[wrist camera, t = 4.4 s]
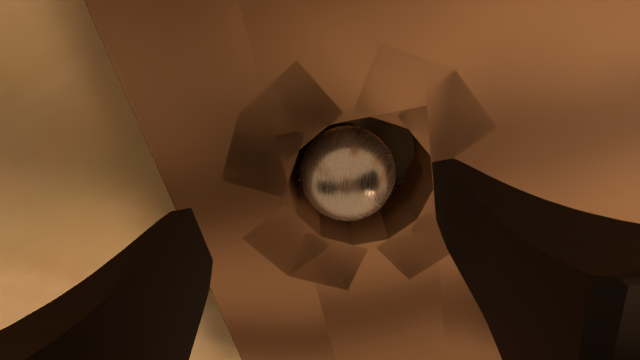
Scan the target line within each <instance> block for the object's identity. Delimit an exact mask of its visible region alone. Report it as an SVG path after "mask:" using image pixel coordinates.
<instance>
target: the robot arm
mask: <svg viewBox="0 0 640 360" xmlns="http://www.w3.org/2000/svg"><path fill="white" fill-rule="evenodd" d="M432 172H433V185H434V198H435V211H436V221H437V224H438V227H439V229H440V232H441V235H442V238H443V240H444V243H445V245H446V248H447V250H448V252H449V254H450V255H451V257H452V259H453V261H454V263H455V265H456V266H457V268H458V270H459V272H460V274H461V276H462V277H463V279H464V281H465V283H466V285H467V286H468V288H469V290H470V292H471V294H472V295H473V297H474V299H475V301H476V303H477V304H478V306H479V308H480V310H481V312H482V314H483V316H484V318H485V320H486V322H487V324H488V327H489V329H490V332H491V334H492V336H493V339H494V341H495V344H496V346H497V348H498V351H499V353H500V356H501V358H502V360H640V224H639V223H633V222H628V221H623V220H618V219H614V218H609V217H605V216H601V215H596V214H592V213H588V212H584V211H581V210H577V209H573V208H570V207H567V206H564V205H561V204H557V203H554V202H551V201H548V200H545V199H542V198H540V197H537V196H534V195H532V194H529V193H527V192H524V191H522V190H520V189H517V188H515V187H512V186H510V185H508V184H506V183H504V182H501V181H499V180H497V179H495V178H493V177H491V176H489V175H487V174H485V173H483V172H481V171H479V170H477V169H475V168H473V167H471V166H469V165H467V164H465V163H463V162H461V161H459V160H457V159H454V158H451V159H446V160H441V161H435V162H432ZM212 266H213V259H212V256H211V254H210V252H209V249H208V247H207V244H206V242H205V240H204V237H203V235H202V232H201V230H200V228H199V225H198V223H197V220H196V218H195V216H194V213H193V211H192V208H187V209H181V210H176V211H172V212H170V213H168V214H167V215H165V216H164V217H163V218H161V219H160V220H159V221H157V222H156V223H155V224H154V225H152V226H151V227H150V228H149V229H148V230H146V231H145V232H144V233H143V234H142V235H140V236H139V237H138V238H137V239H136V240H134V241H133V242H132V243H131V244H130V245H128V246H127V247H126V248H125V249H124V250H122V251H121V252H120V253H119V254H117V255H116V256H115V257H113V258H112V259H111V260H110V261H108V262H107V263H106V264H104V265H103V266H102V267H101V268H99V269H98V270H97V271H95V272H94V273H93V274H92V275H90V276H89V277H87V278H86V279H85V280H83V281H82V282H80V283H79V284H77V285H76V286H74V287H73V288H71V289H70V290H68V291H67V292H65V293H64V294H62V295H61V296H59V297H58V298H56V299H55V300H53V301H51V302H50V303H48V304H46V305H45V306H43V307H41V308H39V309H38V310H36V311H34V312H33V313H31V314H29V315H27V316H26V317H24V318H22V319H21V320H19V321H17V322H15V323H14V324H12V325H10V326H8V327H6V328H4V329H2V330H0V360H189V357H190V354H191V350H192V347H193V344H194V340H195V337H196V334H197V330H198V327H199V324H200V320H201V317H202V314H203V310H204V307H205V303H206V300H207V296H208V292H209V288H210V281H211V275H212Z"/></svg>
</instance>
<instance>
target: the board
mask: <svg viewBox="0 0 640 360" xmlns="http://www.w3.org/2000/svg"><path fill="white" fill-rule="evenodd" d="M84 1H85V3H86V5H87V8H88V10H89V12H90V15H91V17H92V19H93V21H94V24H95V26H96V28H97V31H98V33H99V35H100V37H101V40H102V42H103V44H104V47H105V49H106V51H107V53H108V56H109V58H110V60H111V62H112V65H113V67H114V69H115V72H116V74H117V76H118V78H119V81H120V83H121V85H122V88H123V90H124V92H125V94H126V97H127V99H128V101H129V104H130V106H131V108H132V110H133V113H134V115H135V117H136V120H137V122H138V124H139V126H140V129H141V131H142V133H143V135H144V138H145V140H146V142H147V145H148V147H149V149H150V151H151V154H152V156H153V158H154V161H155V163H156V165H157V167H158V170H159V172H160V174H161V177H162V179H163V181H164V183H165V186H166V188H167V190H168V193H169V195H170V197H171V199H172V202H173V204H174V206H175V208H176V210H181V209H187V208H192V211H193V213H194V216H195V218H196V220H197V223H198V225H199V228H200V230H201V232H202V235H203V237H204V240H205V242H206V244H207V247H208V249H209V252H210V254H211V256H212V259H213V266H212V275H211V281H210V288H211V291H212V293H213V295H214V297H215V300H216V302H217V304H218V307H219V309H220V311H221V313H222V316H223V318H224V320H225V323H226V325H227V327H228V329H229V332H230V334H231V336H232V338H233V341H234V343H235V345H236V348H237V350H238V352H239V354H240V357H241V359H242V360H502V358H501V356H500V353H499V351H498V348H497V346H496V344H495V341H494V339H493V336H492V334H491V332H490V329H489V327H488V324H487V322H486V320H485V318H484V316H483V314H482V312H481V310H480V308H479V306H478V304H477V303H476V301H475V299H474V297H473V295H472V294H471V292H470V290H469V288H468V286H467V285H466V283H465V281H464V279H463V277H462V276H461V274H460V272H459V270H458V268H457V266H456V265H455V263H454V261H453V259H452V257H451V255H450V254H449V252H448V250H447V248H446V245H445V243H444V240H443V238H442V235H441V232H440V229H439V227H438V224H437V221H436V211H435V198H434V185H433V172H432V162H435V161H441V160H446V159H451V158H454V159H457V160H459V161H461V162H463V163H465V164H467V165H469V166H471V167H473V168H475V169H477V170H479V171H481V172H483V173H485V174H487V175H489V176H491V177H493V178H495V179H497V180H499V181H501V182H504V183H506V184H508V185H510V186H512V187H515V188H517V189H520V190H522V191H524V192H527V193H529V194H532V195H534V196H537V197H540V198H542V199H545V200H548V201H551V202H554V203H557V204H561V205H564V206H567V207H570V208H573V209H577V210H581V211H584V212H588V213H592V214H596V215H601V216H605V217H609V218H614V219H618V220H623V221H628V222H633V223H639V224H640V0H84ZM366 117H373V118H376V119H379V120H382V121H385V122H389V123H392V124H395V125H398V126H401V127H404V128H407V129H409V131H410V132H411V133H412V134H413V141H414V151H415V158H414V160H413V162H412V164H411V166H410V168H409V170H408V172H407V174H406V176H405V178H404V180H403V182H402V184H400V185H399V186H397V187H396V188H395V189H393V190H392V192H391V195H390V197H389V198H388V200H387V201H386V203H385V204H384V205H383V206H382V207H381V208H380V209H379V210H378V211H376V212H375V213H374V214H372V215H370V216H368V217H366V218H363V219H360V220H355V221H340V220H335V219H332V218H329V217H327V216H325V215H323V214H322V213H320V212H319V211H318V210H316V209H315V208H314V207H313V206H312V205H311V203H310V202H309V201H308V199H307V198H306V196H305V194H304V192H303V189H302V186H301V182H300V180H299V179H298V177H297V174H296V170H295V166H294V164H295V161H296V158H297V155H298V152H299V150H300V149H301V148H302V147H303V146H305V145H306V144H307V143H308V142H309V141H311V140H312V139H313V138H314V137H315V136H317V135H318V134H319V133H320V132H321V131H323V130H324V129H325V128H326V127H327V126H329V125H331V124H336V123H341V122H346V121H351V120H356V119H361V118H366Z"/></svg>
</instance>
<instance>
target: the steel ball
mask: <svg viewBox="0 0 640 360" xmlns="http://www.w3.org/2000/svg"><path fill="white" fill-rule="evenodd" d="M300 182H301V186H302V189H303V192H304V194H305V196H306V198H307V199H308V201H309V202H310V203H311V205H312V206H313V207H314V208H315V209H316V210H318V211H319V212H320V213H322V214H323V215H325V216H327V217H329V218H332V219H335V220H340V221H355V220H360V219H363V218H366V217H368V216H370V215H372V214H374V213H375V212H376V211H378V210H379V209H380V208H381V207H382V206H383V205H384V204H385V203H386V201H387V200H388V198H389V197H390V195H391V192H392V190H393V187H394V183H395V164H394V160H393V157H392V155H391V152H390V150H389V149H388V147H387V146H386V144H385V143H384V142H383V141H382V140H381V139H380V138H379V137H378V136H377V135H375V134H374V133H372V132H370V131H368V130H366V129H364V128H360V127H356V126H340V127H335V128H332V129H329V130H327V131H325V132H323V133H321V134H320V135H319V136H318V137H316V138H315V139H314V140H313V141H312V142H311V143H310V145H309V146H308V148H307V149H306V151H305V153H304V155H303V158H302V161H301V166H300Z"/></svg>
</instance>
